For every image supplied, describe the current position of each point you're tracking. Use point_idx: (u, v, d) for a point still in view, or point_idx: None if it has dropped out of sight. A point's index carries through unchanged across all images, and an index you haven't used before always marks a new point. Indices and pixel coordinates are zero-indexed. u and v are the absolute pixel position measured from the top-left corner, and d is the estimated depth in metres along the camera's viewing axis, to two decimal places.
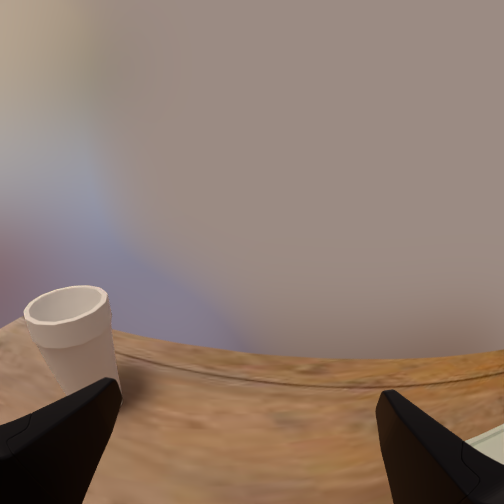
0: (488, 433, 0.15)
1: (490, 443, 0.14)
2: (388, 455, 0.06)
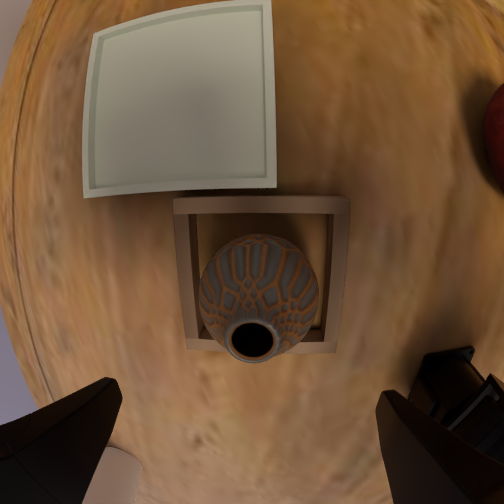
0: (86, 117, 0.16)
1: (102, 111, 0.17)
2: (388, 455, 0.06)
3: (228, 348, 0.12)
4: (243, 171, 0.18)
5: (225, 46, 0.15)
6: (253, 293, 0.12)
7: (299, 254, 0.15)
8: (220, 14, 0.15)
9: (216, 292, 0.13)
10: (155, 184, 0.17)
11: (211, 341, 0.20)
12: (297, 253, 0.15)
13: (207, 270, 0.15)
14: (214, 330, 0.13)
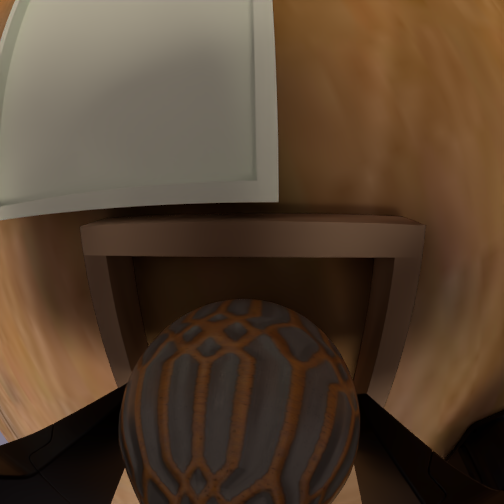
0: None
1: (10, 90, 0.08)
2: (358, 460, 0.06)
3: None
4: (210, 167, 0.09)
5: None
6: None
7: (329, 366, 0.06)
8: None
9: (135, 466, 0.04)
10: (57, 199, 0.08)
11: None
12: (325, 366, 0.06)
13: (125, 394, 0.06)
14: None
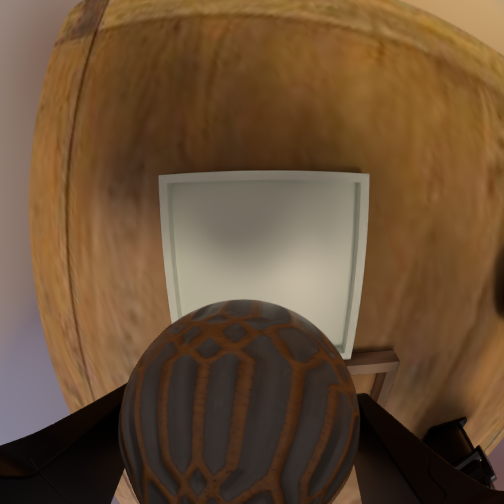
0: (170, 284, 0.20)
1: (186, 275, 0.21)
2: (358, 460, 0.06)
3: None
4: None
5: (318, 227, 0.19)
6: None
7: (329, 367, 0.06)
8: (313, 181, 0.18)
9: (134, 467, 0.04)
10: None
11: None
12: (325, 367, 0.06)
13: (125, 395, 0.06)
14: None
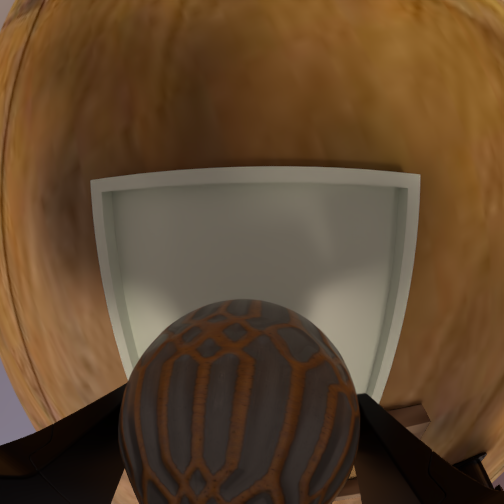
0: (120, 338, 0.13)
1: (141, 325, 0.13)
2: (358, 460, 0.06)
3: None
4: None
5: (339, 258, 0.12)
6: None
7: (329, 367, 0.06)
8: (332, 185, 0.11)
9: (134, 467, 0.04)
10: None
11: None
12: (325, 366, 0.06)
13: (125, 395, 0.06)
14: None
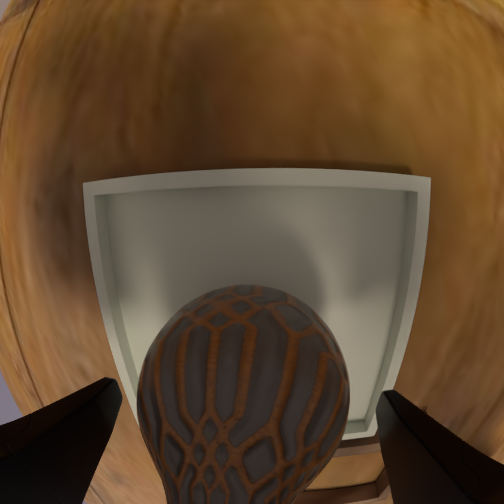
0: (115, 347, 0.12)
1: (137, 333, 0.13)
2: (388, 455, 0.06)
3: None
4: None
5: (345, 266, 0.11)
6: (222, 453, 0.05)
7: (321, 337, 0.07)
8: (338, 188, 0.10)
9: (153, 425, 0.05)
10: None
11: None
12: (317, 337, 0.07)
13: (144, 365, 0.07)
14: None
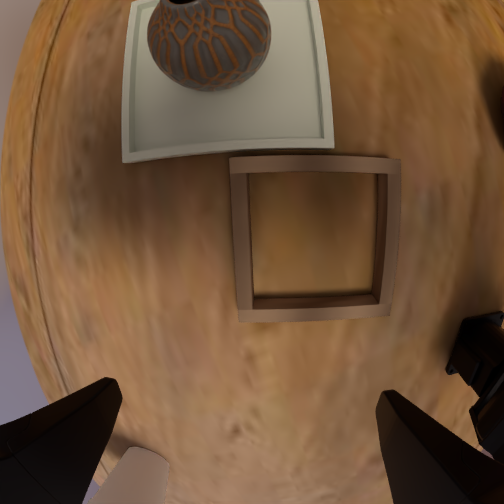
0: (126, 79, 0.16)
1: (143, 75, 0.16)
2: (388, 455, 0.06)
3: None
4: (299, 133, 0.17)
5: (273, 18, 0.15)
6: None
7: None
8: None
9: None
10: (208, 144, 0.17)
11: (266, 311, 0.19)
12: None
13: None
14: (154, 19, 0.09)
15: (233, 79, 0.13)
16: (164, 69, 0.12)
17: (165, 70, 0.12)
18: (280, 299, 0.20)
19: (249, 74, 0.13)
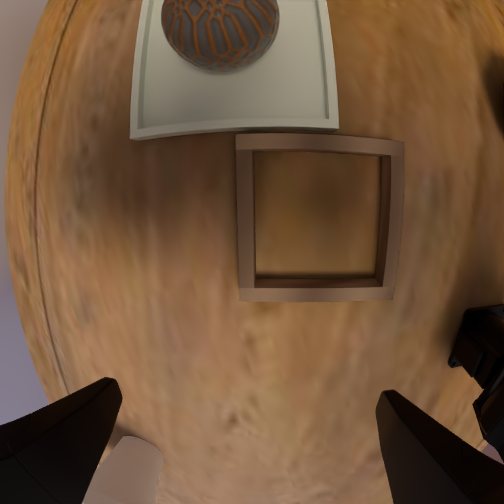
0: (137, 60, 0.16)
1: (154, 57, 0.16)
2: (388, 455, 0.06)
3: None
4: (304, 114, 0.17)
5: (281, 7, 0.15)
6: None
7: None
8: None
9: None
10: (216, 121, 0.17)
11: (268, 290, 0.19)
12: None
13: None
14: None
15: (242, 58, 0.13)
16: (176, 46, 0.12)
17: (177, 47, 0.12)
18: (282, 279, 0.20)
19: (257, 54, 0.13)
